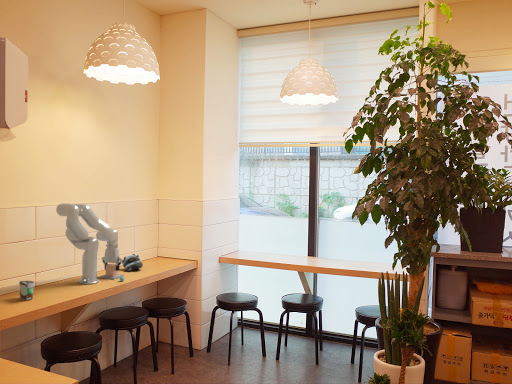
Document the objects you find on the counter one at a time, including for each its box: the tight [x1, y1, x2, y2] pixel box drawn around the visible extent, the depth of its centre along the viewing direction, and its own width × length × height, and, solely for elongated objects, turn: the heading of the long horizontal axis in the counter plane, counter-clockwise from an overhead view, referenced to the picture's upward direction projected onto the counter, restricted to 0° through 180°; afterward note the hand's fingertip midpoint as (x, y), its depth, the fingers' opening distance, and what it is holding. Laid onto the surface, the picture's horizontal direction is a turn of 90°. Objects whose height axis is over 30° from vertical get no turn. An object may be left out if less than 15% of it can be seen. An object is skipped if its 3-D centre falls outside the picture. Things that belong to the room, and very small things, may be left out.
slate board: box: [99, 273, 125, 280], centre depth 341 cm, size 12×12×1 cm
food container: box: [18, 280, 36, 302], centre depth 279 cm, size 12×6×10 cm, turn 48°
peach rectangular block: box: [105, 263, 119, 277], centre depth 341 cm, size 6×6×8 cm
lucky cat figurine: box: [121, 253, 144, 272], centre depth 367 cm, size 15×12×14 cm
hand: (111, 270), depth 341 cm, fingers open, 9 cm apart
